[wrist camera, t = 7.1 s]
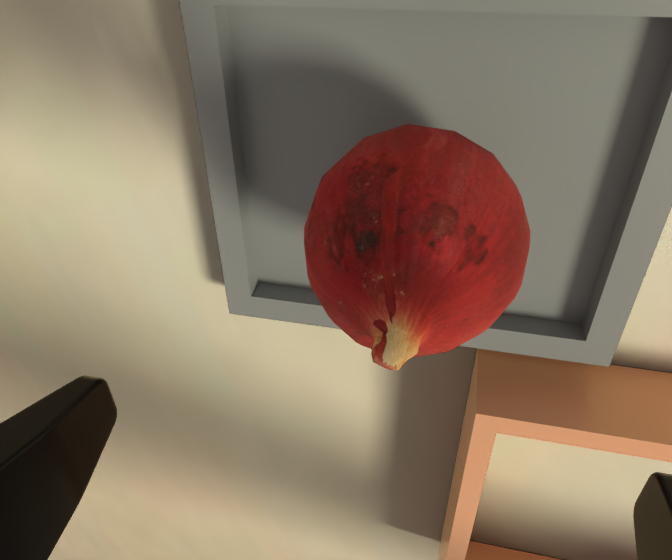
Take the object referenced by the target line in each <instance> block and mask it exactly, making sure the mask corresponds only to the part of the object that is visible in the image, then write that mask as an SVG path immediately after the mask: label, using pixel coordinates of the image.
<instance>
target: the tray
mask: <svg viewBox="0 0 672 560" xmlns="http://www.w3.org/2000/svg"><path fill="white" fill-rule="evenodd" d="M179 2H180V8H181V14H182V20H183V27H184V33H185V39H186V45H187V52H188V58H189V64H190V70H191V77H192V83H193V89H194V95H195V102H196V108H197V114H198V120H199V127H200V133H201V139H202V145H203V152H204V158H205V164H206V170H207V177H208V183H209V189H210V195H211V202H212V208H213V214H214V220H215V227H216V233H217V239H218V245H219V252H220V258H221V264H222V270H223V277H224V283H225V289H226V295H227V302H228V308H229V313H230V314H237V315H244V316H251V317H258V318H265V319H272V320H279V321H287V322H294V323H301V324H308V325H315V326H322V327H329V328H336V329H340V328H339V327H338V326H337V325H336V324H335V323H334V322H333V321H332V320H331V319H330V318H329V316H328V315H327V313H326V312H325V310H324V308H323V306H322V305H321V303H320V301H319V300H318V298H317V296H316V295H315V293H314V291H313V289H312V288H311V285H310V282H309V279H308V276H307V267H306V257H305V248H304V227H305V224H306V221H307V218H308V215H309V212H310V209H311V205H312V202H313V199H314V196H315V193H316V191H317V188H318V186H319V183H320V180H321V178H322V176H323V175H324V174H325V173H326V172H327V171H328V170H329V169H331V168H332V167H333V166H334V165H335V164H336V163H337V162H338V161H339V160H340V159H341V158H342V157H343V156H345V155H346V154H347V153H348V152H349V151H350V150H351V149H352V148H353V147H354V146H355V145H356V144H357V143H358V142H360V141H361V140H362V139H363V138H364V137H367V136H370V135H374V134H377V133H380V132H383V131H387V130H390V129H393V128H396V127H400V126H403V125H406V124H412V125H418V126H425V127H432V128H438V129H445V130H452V131H456V132H458V133H459V134H461V135H463V136H464V137H466V138H468V139H469V140H471V141H473V142H474V143H476V144H478V145H480V146H481V147H483V148H485V149H486V150H488V151H490V152H491V153H493V154H494V155H495V157H496V158H497V159H498V161H499V162H500V164H501V165H502V166H503V168H504V169H505V170H506V172H507V173H508V174H509V176H510V177H511V179H512V180H513V181H514V183H515V184H516V186H517V188H518V190H519V193H520V195H521V197H522V201H523V205H524V208H525V212H526V216H527V220H528V224H529V228H530V232H531V233H530V248H529V253H528V258H527V262H526V267H525V272H524V276H523V281H522V285H521V287H520V289H519V291H518V293H517V295H516V297H515V299H514V300H513V301H512V302H511V303H510V304H509V306H508V307H507V308H506V309H505V310H504V311H503V313H502V314H501V315H500V316H499V317H498V318H497V320H496V321H495V322H494V323H493V324H492V325H491V327H489V328H488V329H487V330H485V331H484V332H483V333H481V334H479V335H478V336H476V337H474V338H472V339H470V340H469V341H467V342H465V343H463V344H461V345H460V346H464V347H471V348H478V349H485V350H493V351H500V352H507V353H514V354H521V355H528V356H535V357H542V358H549V359H556V360H564V361H571V362H578V363H585V364H592V365H599V366H606V367H609V366H610V363H611V361H612V358H613V356H614V353H615V350H616V348H617V345H618V343H619V340H620V338H621V335H622V333H623V330H624V327H625V325H626V322H627V320H628V317H629V315H630V312H631V310H632V307H633V304H634V302H635V299H636V297H637V294H638V292H639V289H640V287H641V284H642V281H643V279H644V276H645V274H646V271H647V269H648V266H649V264H650V261H651V258H652V256H653V253H654V251H655V248H656V246H657V243H658V240H659V238H660V235H661V233H662V230H663V228H664V225H665V223H666V220H667V217H668V215H669V212H670V210H671V207H672V0H179Z"/></svg>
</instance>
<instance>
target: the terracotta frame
mask: <svg viewBox="0 0 672 560" xmlns="http://www.w3.org/2000/svg"><path fill="white" fill-rule="evenodd" d="M496 433H501V434H507V435H513V436H519V437H525V438H531V439H536V440H542V441H548V442H554V443H560V444H566V445H572V446H578V447H584V448H590V449H596V450H602V451H608V452H614V453H620V454H626V455H632V456H638V457H644V458H650V459H655V460H661V461H667V462H672V373H666V372H659V371H652V370H645V369H638V368H631V367H624V366H616V365H610V366H609V367H606V366H599V365H592V364H585V363H578V362H571V361H564V360H556V359H549V358H542V357H535V356H528V355H521V354H514V353H507V352H500V351H493V350H485V349H478V348H477V352H476V357H475V362H474V368H473V373H472V378H471V383H470V389H469V394H468V399H467V405H466V410H465V415H464V420H463V426H462V431H461V436H460V441H459V447H458V452H457V457H456V462H455V468H454V473H453V478H452V484H451V489H450V494H449V499H448V505H447V510H446V515H445V520H444V526H443V531H442V536H441V541H440V553H439V560H561V559H556V558H552V557H547V556H542V555H537V554H532V553H527V552H522V551H518V550H513V549H508V548H503V547H498V546H493V545H488V544H484V543H479V542H474V541H470V537H471V533H472V529H473V525H474V521H475V517H476V513H477V508H478V504H479V500H480V496H481V492H482V488H483V484H484V480H485V476H486V472H487V468H488V464H489V460H490V456H491V452H492V448H493V444H494V440H495V436H496Z"/></svg>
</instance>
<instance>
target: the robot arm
mask: <svg viewBox="0 0 672 560" xmlns="http://www.w3.org/2000/svg"><path fill="white" fill-rule="evenodd" d="M116 417H117V408H116V405H115V402H114V400H113V397H112V394H111V392H110V389H109V386H108V384H107V382H106V381H105V380H104V379H102V378H97V377H91V376H81V377H78V378H76V379H75V380H73V381H71V382H70V383H68V384H66V385H65V386H63V387H61V388H59V389H58V390H56V391H54V392H53V393H51V394H49V395H48V396H46V397H44V398H43V399H41V400H39V401H38V402H36V403H34V404H32V405H31V406H29V407H27V408H26V409H24V410H22V411H21V412H19V413H17V414H16V415H14V416H12V417H10V418H9V419H7V420H5V421H4V422H2V423H0V560H47V559H48V557H49V556H50V554H51V552H52V550H53V549H54V547H55V545H56V543H57V542H58V540H59V538H60V536H61V534H62V533H63V531H64V529H65V527H66V526H67V524H68V522H69V520H70V518H71V517H72V515H73V513H74V511H75V509H76V508H77V506H78V504H79V502H80V500H81V498H82V496H83V494H84V492H85V490H86V487H87V485H88V483H89V481H90V478H91V476H92V474H93V472H94V469H95V467H96V465H97V463H98V460H99V458H100V456H101V453H102V451H103V449H104V447H105V444H106V442H107V440H108V438H109V435H110V433H111V431H112V429H113V426H114V424H115V421H116ZM634 528H635V539H636V550H637V560H672V475H671V474H665V473H659V472H655V473H653V474H652V475H651V476H650V477H649V478H648V480H647V482H646V484H645V486H644V488H643V489H642V491H641V493H640V495H639V497H638V499H637V500H636V503H635V506H634Z"/></svg>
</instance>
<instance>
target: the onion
mask: <svg viewBox="0 0 672 560" xmlns="http://www.w3.org/2000/svg"><path fill="white" fill-rule="evenodd" d="M530 233H531V232H530V228H529V224H528V220H527V216H526V212H525V208H524V205H523V201H522V197H521V195H520V193H519V190H518V188H517V186H516V184H515V183H514V181H513V180H512V179H511V177H510V176H509V174H508V173H507V172H506V170H505V169H504V168H503V166H502V165H501V164H500V162H499V161H498V159H497V158H496V157H495V155H494V154H493V153H491V152H490V151H488V150H486V149H485V148H483V147H481V146H480V145H478V144H476V143H474V142H473V141H471V140H469V139H468V138H466V137H464V136H463V135H461V134H459V133H458V132H456V131H452V130H445V129H438V128H432V127H425V126H418V125H412V124H406V125H403V126H400V127H396V128H393V129H390V130H387V131H383V132H380V133H377V134H374V135H370V136H367V137H364V138H363V139H362V140H361V141H360V142H358V143H357V144H356V145H355V146H354V147H353V148H352V149H351V150H350V151H349V152H348V153H347V154H346V155H345V156H343V157H342V158H341V159H340V160H339V161H338V162H337V163H336V164H335V165H334V166H333V167H332V168H331V169H329V170H328V171H327V172H326V173H325V174H324V175H323V176H322V178H321V180H320V183H319V186H318V188H317V191H316V193H315V196H314V199H313V202H312V205H311V209H310V212H309V215H308V218H307V221H306V224H305V227H304V248H305V257H306V267H307V276H308V279H309V282H310V285H311V288H312V289H313V291H314V293H315V295H316V296H317V298H318V300H319V301H320V303H321V305H322V306H323V308H324V310H325V312H326V313H327V315H328V316H329V318H330V319H331V320H332V321H333V322H334V323H335V324H336V325H337V326H338V327H339V328H340V329H342V330H343V331H344V332H345V333H346V334H347V335H349V336H350V337H351V338H352V339H353V340H354V341H355V342H357V343H359V344H361V345H363V346H365V347H368V348H371V349H372V353H371V354H372V359H373V362H374V363H376V364H378V365H380V366H382V367H384V368H387V369H392V370H399V369H400V368H401V367H402V366H403V364H404V363H405V362H406V361H407V360H409V359H410V358H412V357H418V356H424V355H431V354H437V353H444V352H447V351H450V350H452V349H454V348H456V347H458V346H460V345H461V344H463V343H465V342H467V341H469V340H470V339H472V338H474V337H476V336H478V335H479V334H481V333H483V332H484V331H485V330H487V329H488V328H489V327H491V325H492V324H493V323H494V322H495V321H496V320H497V318H498V317H499V316H500V315H501V314H502V313H503V311H504V310H505V309H506V308H507V307H508V306H509V304H510V303H511V302H512V301H513V300H514V299H515V297H516V295H517V293H518V291H519V289H520V287H521V285H522V281H523V276H524V272H525V267H526V262H527V258H528V253H529V248H530Z"/></svg>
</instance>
